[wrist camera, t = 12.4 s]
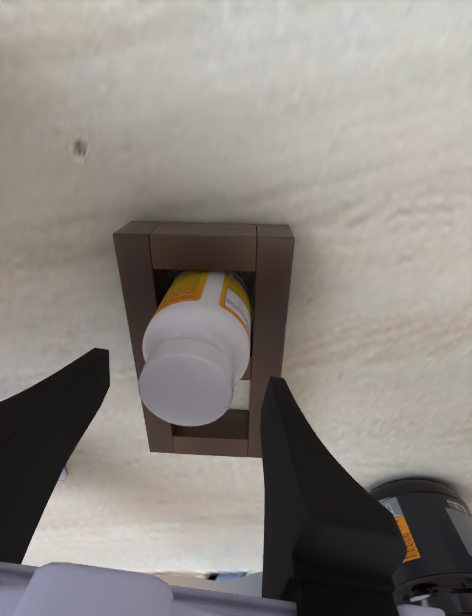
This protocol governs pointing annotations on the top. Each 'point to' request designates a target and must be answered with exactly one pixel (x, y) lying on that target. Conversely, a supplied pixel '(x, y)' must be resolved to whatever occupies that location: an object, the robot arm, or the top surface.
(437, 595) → the supplement container
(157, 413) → the supplement bottle
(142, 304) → the hole block
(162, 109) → the top surface
